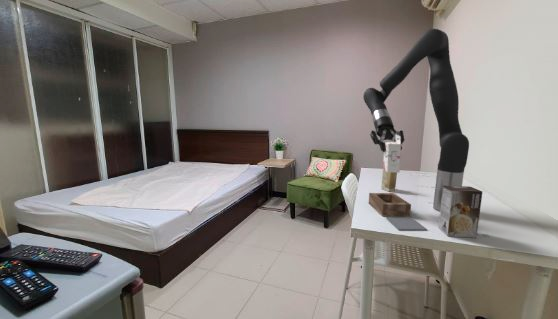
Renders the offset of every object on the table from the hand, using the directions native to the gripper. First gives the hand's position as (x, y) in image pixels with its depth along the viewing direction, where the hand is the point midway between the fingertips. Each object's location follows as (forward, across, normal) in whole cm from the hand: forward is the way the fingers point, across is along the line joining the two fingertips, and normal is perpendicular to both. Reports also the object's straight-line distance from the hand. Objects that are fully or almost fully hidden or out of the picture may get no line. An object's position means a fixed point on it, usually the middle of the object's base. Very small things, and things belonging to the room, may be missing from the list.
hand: (392, 150), depth 103 cm
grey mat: (+29, 0, +7) cm, 30 cm away
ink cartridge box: (+6, 0, +6) cm, 8 cm away
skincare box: (-2, +13, +38) cm, 41 cm away
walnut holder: (+18, 0, +18) cm, 25 cm away
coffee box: (+34, +14, +2) cm, 37 cm away
